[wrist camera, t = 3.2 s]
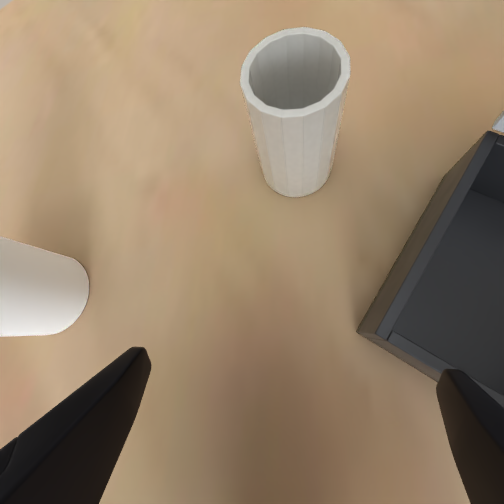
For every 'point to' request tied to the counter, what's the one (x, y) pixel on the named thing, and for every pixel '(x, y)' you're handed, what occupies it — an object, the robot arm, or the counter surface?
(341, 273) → the counter surface
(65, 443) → the robot arm
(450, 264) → the dark grey open box
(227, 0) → the counter surface
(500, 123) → the grey flat rectangular panel
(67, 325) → the cylindrical container
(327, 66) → the white cup
